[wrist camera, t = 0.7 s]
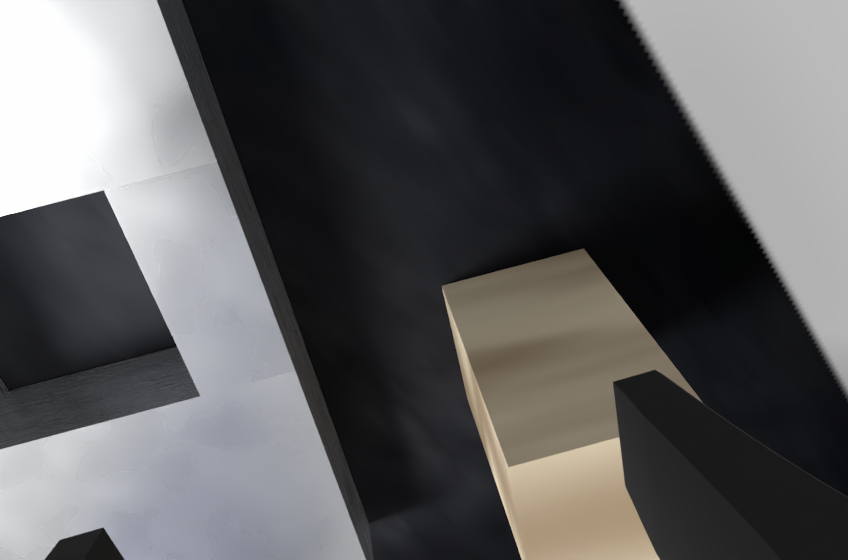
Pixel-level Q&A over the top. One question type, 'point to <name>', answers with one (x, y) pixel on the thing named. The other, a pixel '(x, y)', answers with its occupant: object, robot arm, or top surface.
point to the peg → (555, 401)
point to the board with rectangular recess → (179, 304)
